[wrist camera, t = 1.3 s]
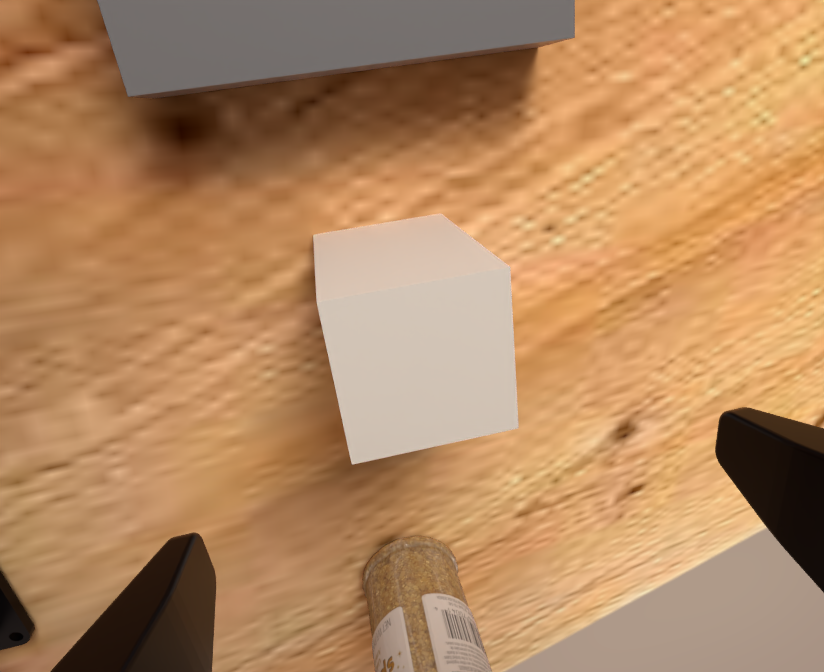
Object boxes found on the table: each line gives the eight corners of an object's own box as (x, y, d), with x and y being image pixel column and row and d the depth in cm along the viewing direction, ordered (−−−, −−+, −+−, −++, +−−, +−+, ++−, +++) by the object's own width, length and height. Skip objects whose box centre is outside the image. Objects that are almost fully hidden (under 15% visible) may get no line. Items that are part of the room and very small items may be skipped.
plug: (452, 329, 20) (518, 427, 14) (337, 351, 20) (351, 464, 14) (440, 213, 19) (510, 266, 12) (313, 234, 18) (316, 302, 12)
